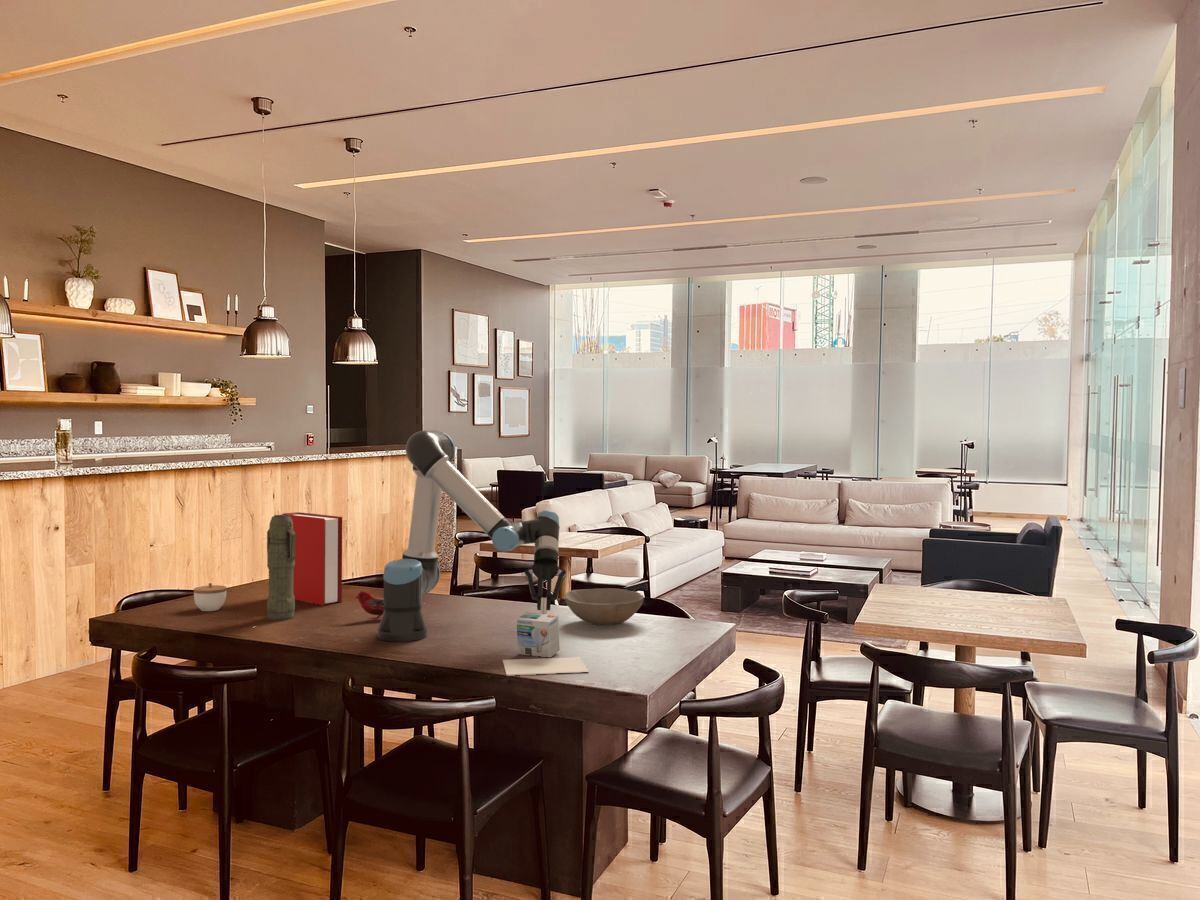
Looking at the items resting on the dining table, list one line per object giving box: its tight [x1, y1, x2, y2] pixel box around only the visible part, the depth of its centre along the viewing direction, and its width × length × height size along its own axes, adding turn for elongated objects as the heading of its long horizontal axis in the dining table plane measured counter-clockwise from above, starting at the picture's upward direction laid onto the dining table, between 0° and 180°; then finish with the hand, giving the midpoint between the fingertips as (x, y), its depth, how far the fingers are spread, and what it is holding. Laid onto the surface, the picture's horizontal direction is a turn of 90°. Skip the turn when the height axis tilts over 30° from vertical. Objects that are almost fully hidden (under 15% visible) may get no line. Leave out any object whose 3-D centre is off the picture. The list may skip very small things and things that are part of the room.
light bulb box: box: [516, 611, 560, 658], centre depth 255 cm, size 11×7×11 cm, turn 68°
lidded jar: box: [193, 582, 228, 612], centre depth 312 cm, size 11×11×9 cm
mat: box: [502, 656, 590, 677], centre depth 241 cm, size 22×15×1 cm
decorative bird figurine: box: [354, 590, 384, 620], centre depth 299 cm, size 3×18×10 cm, turn 108°
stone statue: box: [266, 514, 296, 621], centre depth 300 cm, size 9×12×35 cm
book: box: [281, 511, 343, 606], centre depth 332 cm, size 27×8×32 cm, turn 54°
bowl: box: [564, 587, 645, 627], centre depth 297 cm, size 26×26×10 cm
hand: (543, 618), depth 259 cm, fingers closed
